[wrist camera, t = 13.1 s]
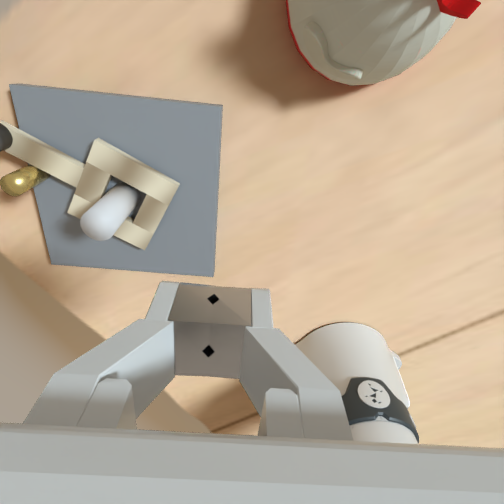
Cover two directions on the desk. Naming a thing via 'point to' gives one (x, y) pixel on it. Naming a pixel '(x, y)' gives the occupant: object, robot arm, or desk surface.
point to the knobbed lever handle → (98, 179)
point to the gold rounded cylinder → (23, 180)
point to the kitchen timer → (370, 34)
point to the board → (146, 142)
